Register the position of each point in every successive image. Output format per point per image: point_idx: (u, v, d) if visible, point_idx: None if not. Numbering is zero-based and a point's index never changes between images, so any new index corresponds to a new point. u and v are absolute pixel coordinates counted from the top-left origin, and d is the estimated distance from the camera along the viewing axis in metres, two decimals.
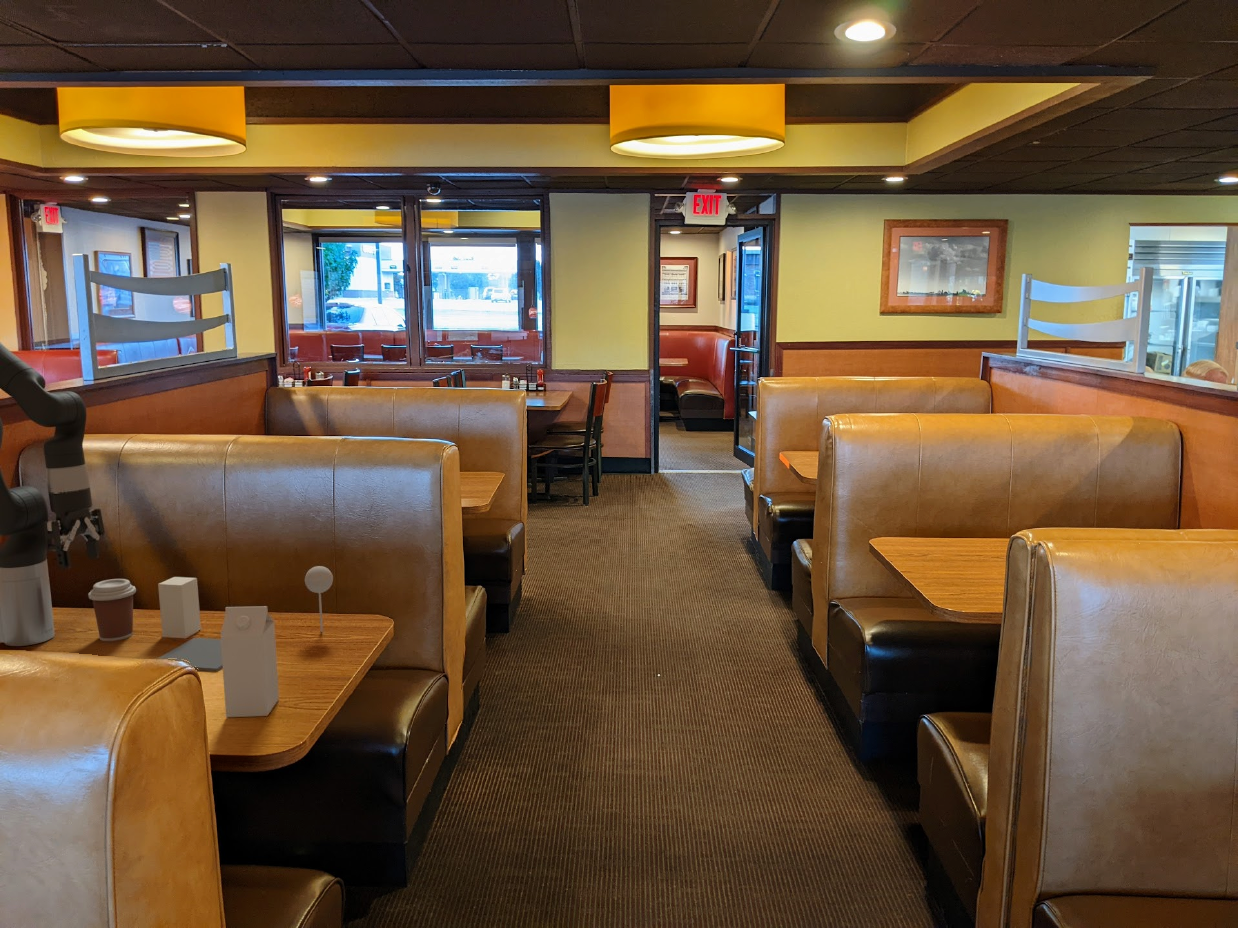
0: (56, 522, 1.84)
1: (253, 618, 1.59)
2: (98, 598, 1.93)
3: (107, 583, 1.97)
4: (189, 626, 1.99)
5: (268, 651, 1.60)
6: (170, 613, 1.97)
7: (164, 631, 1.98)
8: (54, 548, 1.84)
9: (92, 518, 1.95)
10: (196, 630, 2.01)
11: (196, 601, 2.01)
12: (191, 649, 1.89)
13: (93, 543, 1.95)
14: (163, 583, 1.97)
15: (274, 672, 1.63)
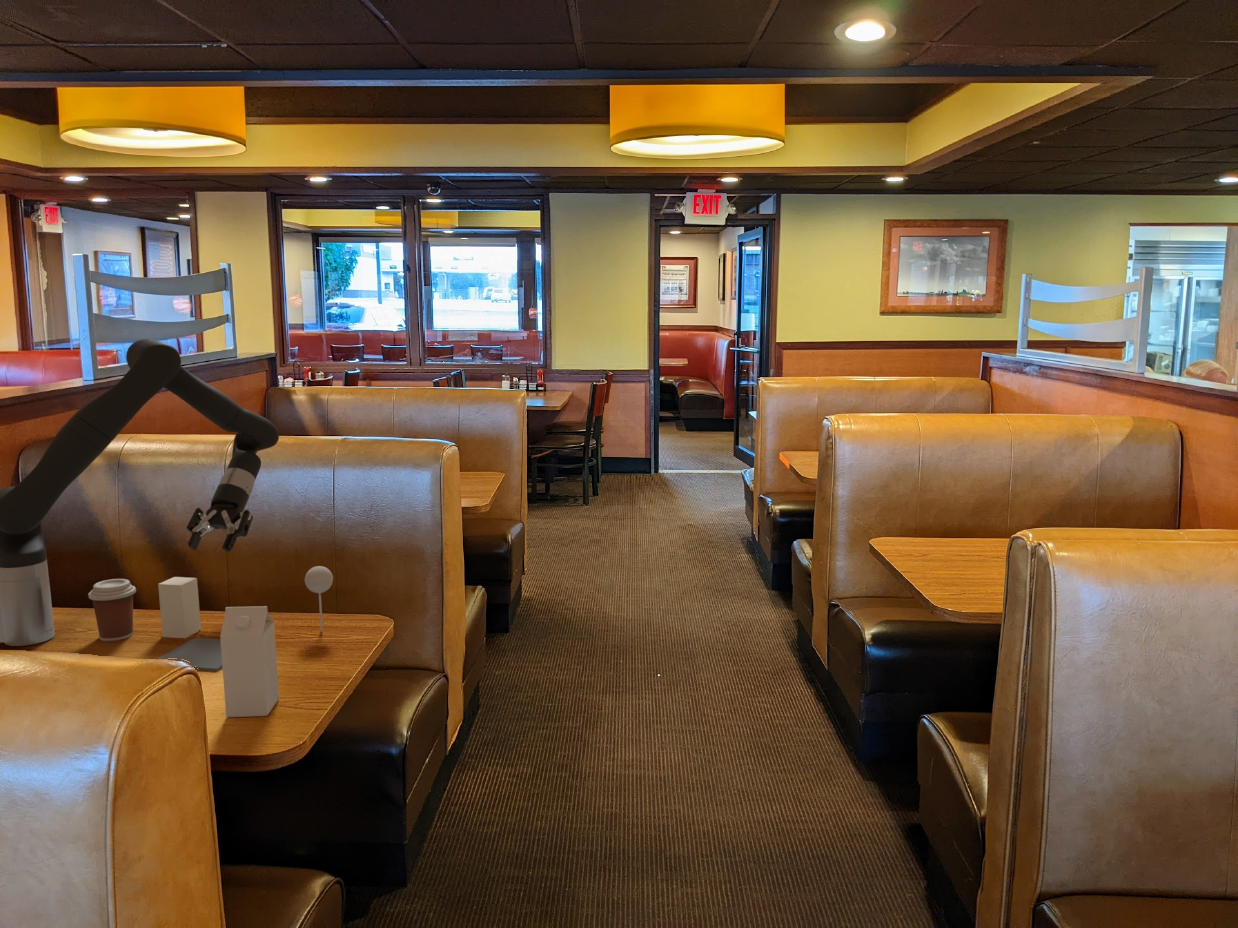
0: None
1: (253, 618, 1.59)
2: (98, 598, 1.93)
3: (107, 583, 1.97)
4: (189, 626, 1.99)
5: (268, 651, 1.60)
6: (170, 613, 1.97)
7: (164, 631, 1.98)
8: (245, 533, 2.11)
9: (203, 518, 2.15)
10: (196, 630, 2.01)
11: (196, 601, 2.01)
12: (191, 649, 1.89)
13: (200, 537, 2.12)
14: (163, 583, 1.97)
15: (274, 672, 1.63)
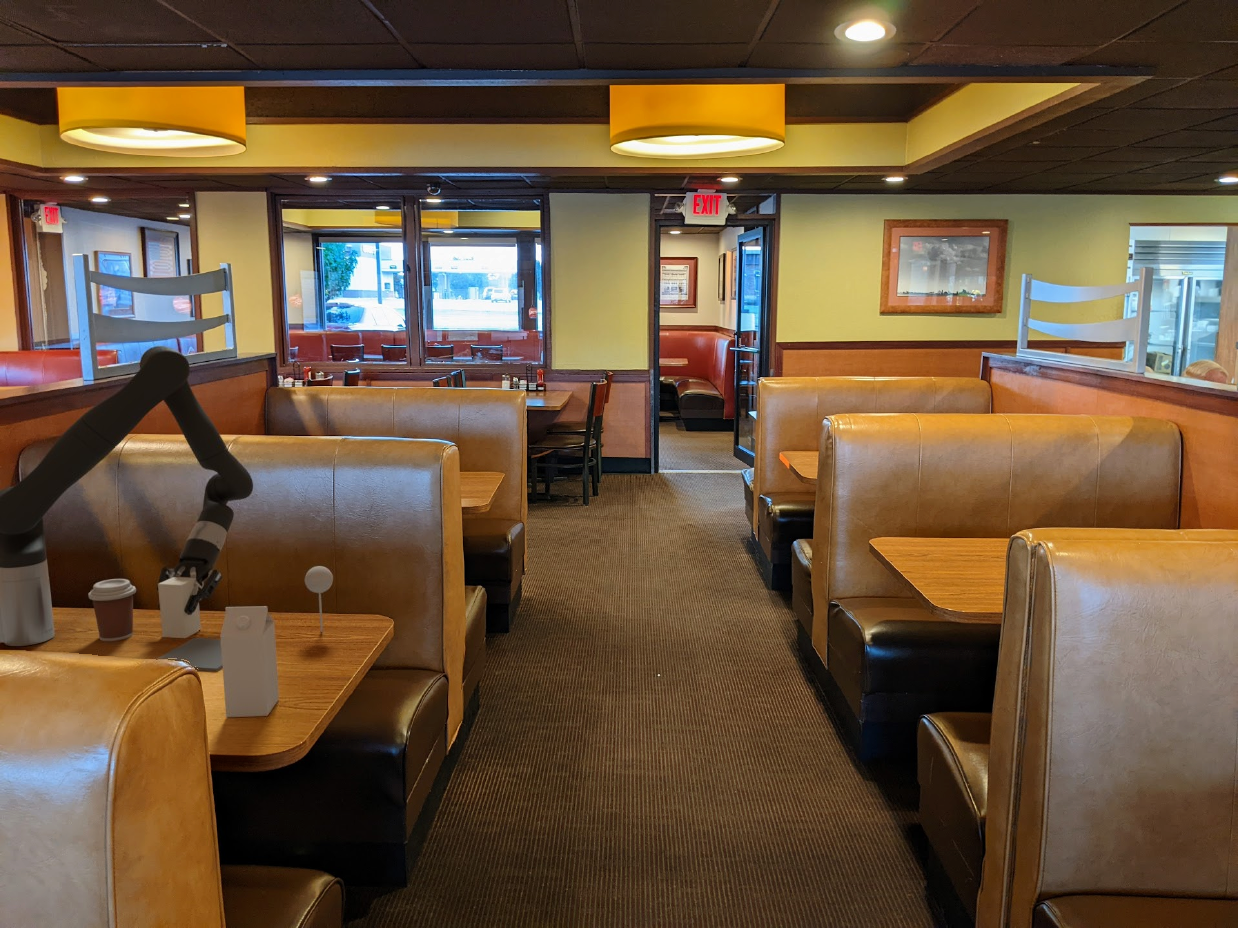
0: None
1: (253, 618, 1.59)
2: (98, 598, 1.93)
3: (107, 583, 1.97)
4: (189, 626, 1.99)
5: (268, 651, 1.60)
6: (170, 613, 1.97)
7: (164, 631, 1.98)
8: (208, 594, 2.00)
9: (172, 576, 2.04)
10: (196, 630, 2.01)
11: None
12: (191, 649, 1.89)
13: None
14: (163, 583, 1.97)
15: (274, 672, 1.63)
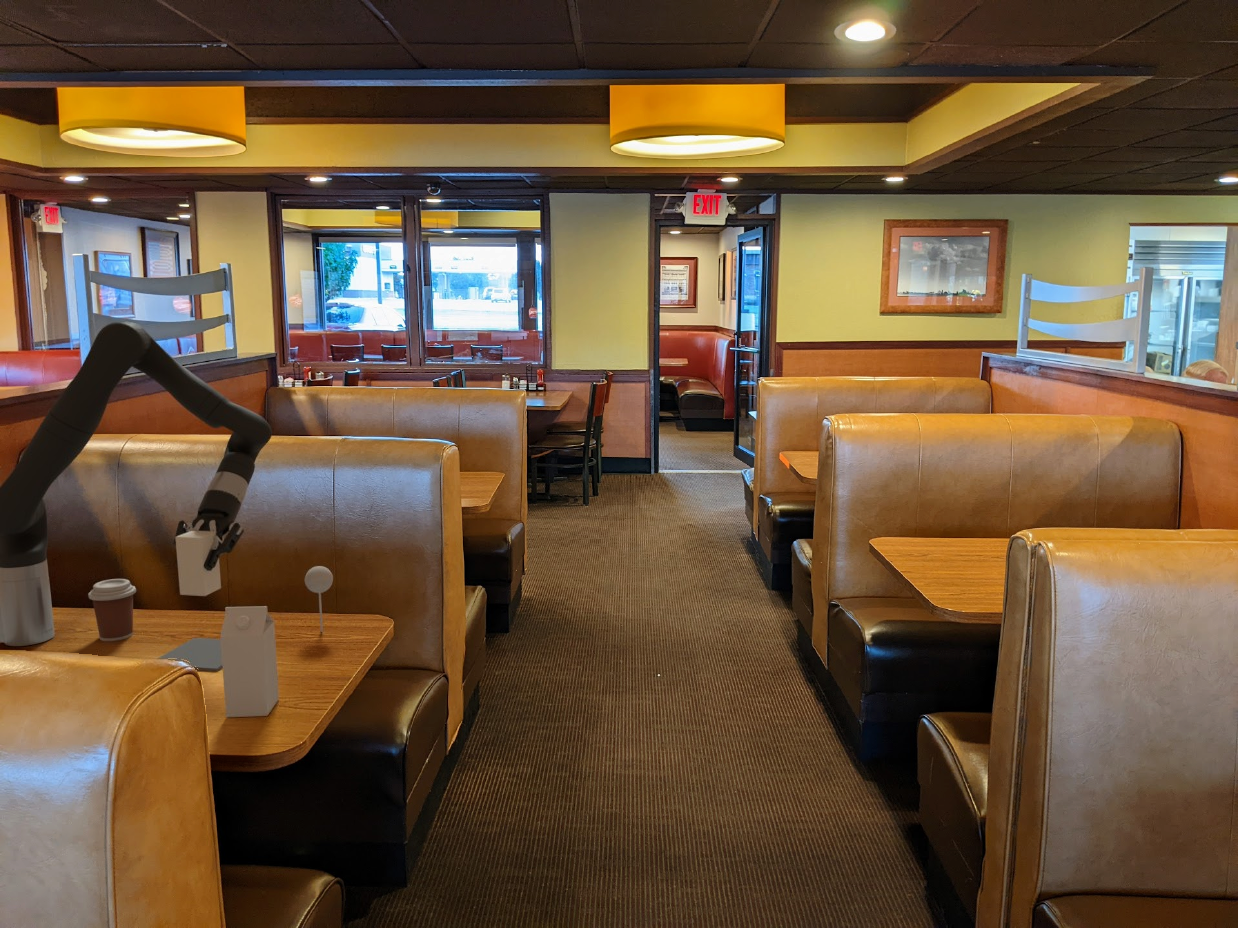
0: None
1: (253, 618, 1.59)
2: (98, 598, 1.93)
3: (107, 583, 1.97)
4: (209, 583, 1.84)
5: (268, 651, 1.60)
6: (189, 569, 1.82)
7: (182, 588, 1.83)
8: (229, 549, 1.85)
9: (189, 530, 1.89)
10: (216, 588, 1.86)
11: None
12: (191, 649, 1.89)
13: None
14: (181, 536, 1.82)
15: (274, 672, 1.63)
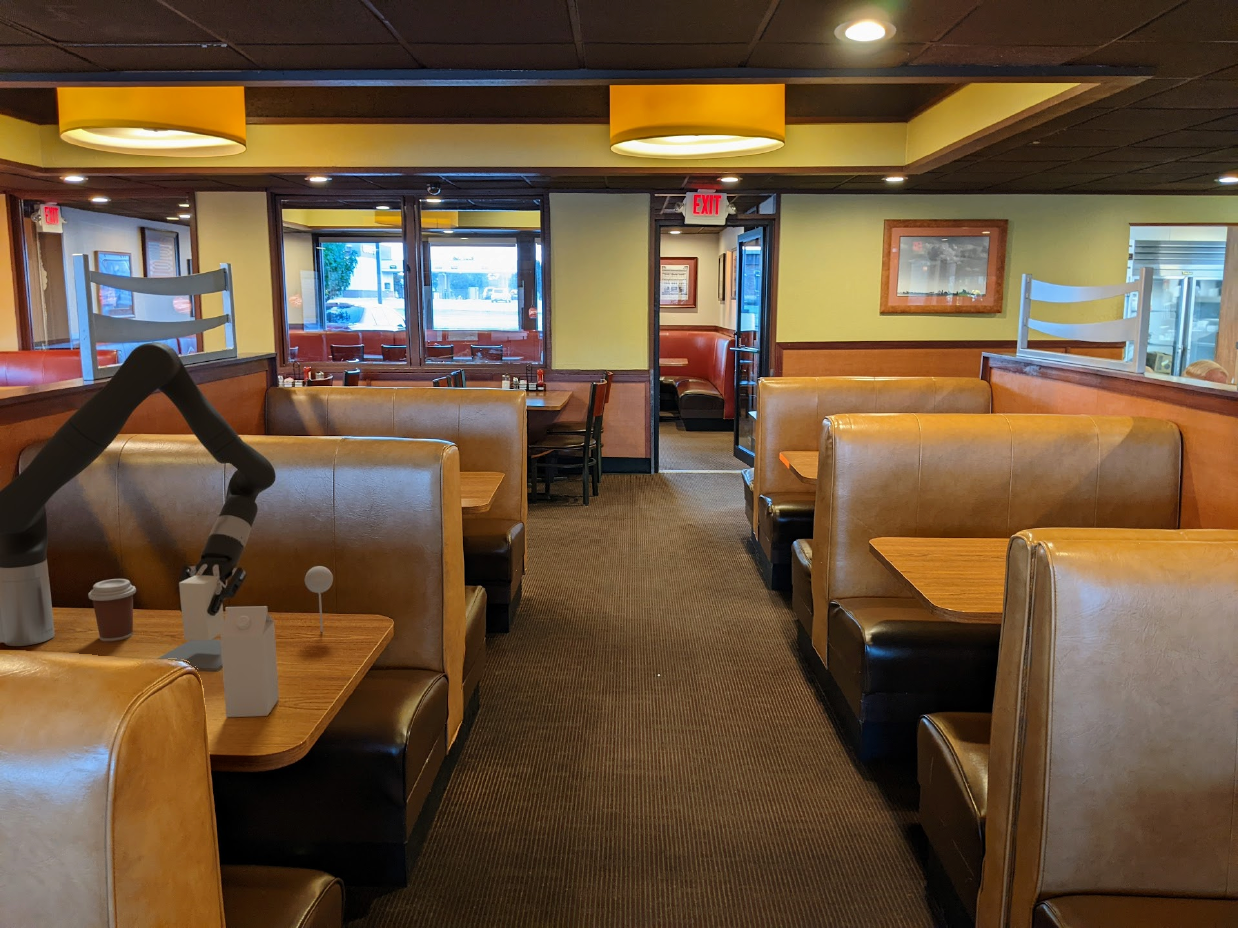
0: None
1: (253, 618, 1.59)
2: (98, 598, 1.93)
3: (107, 583, 1.97)
4: (212, 628, 1.85)
5: (268, 651, 1.60)
6: (192, 614, 1.83)
7: (186, 633, 1.84)
8: (233, 594, 1.87)
9: None
10: (220, 632, 1.88)
11: None
12: (191, 649, 1.89)
13: None
14: (184, 582, 1.83)
15: (274, 672, 1.63)
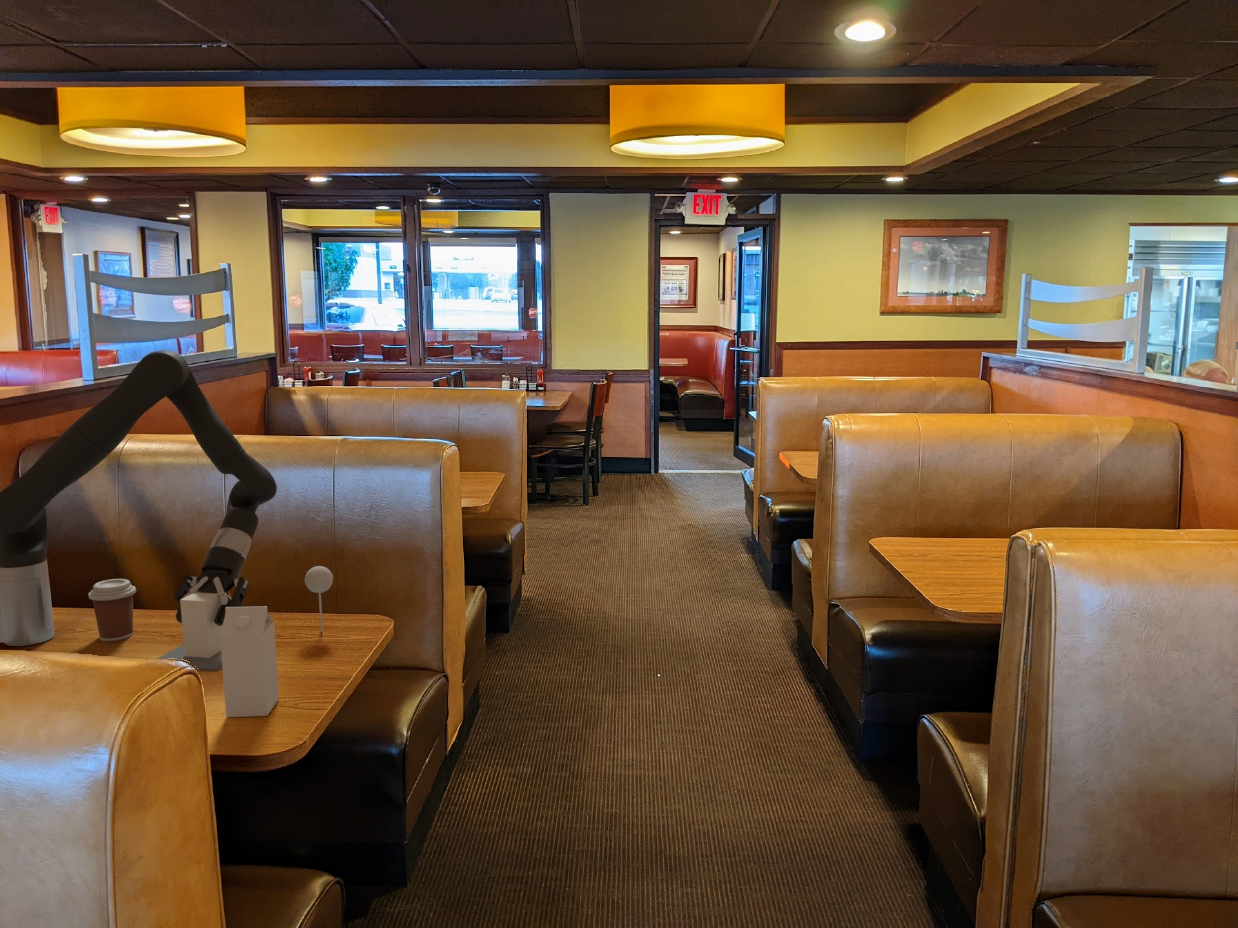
0: None
1: (253, 618, 1.59)
2: (98, 598, 1.93)
3: (107, 583, 1.97)
4: (213, 645, 1.86)
5: (268, 651, 1.60)
6: (193, 631, 1.84)
7: (186, 650, 1.85)
8: (240, 604, 1.87)
9: (193, 585, 1.91)
10: (220, 649, 1.88)
11: None
12: None
13: None
14: (185, 599, 1.84)
15: (274, 672, 1.63)
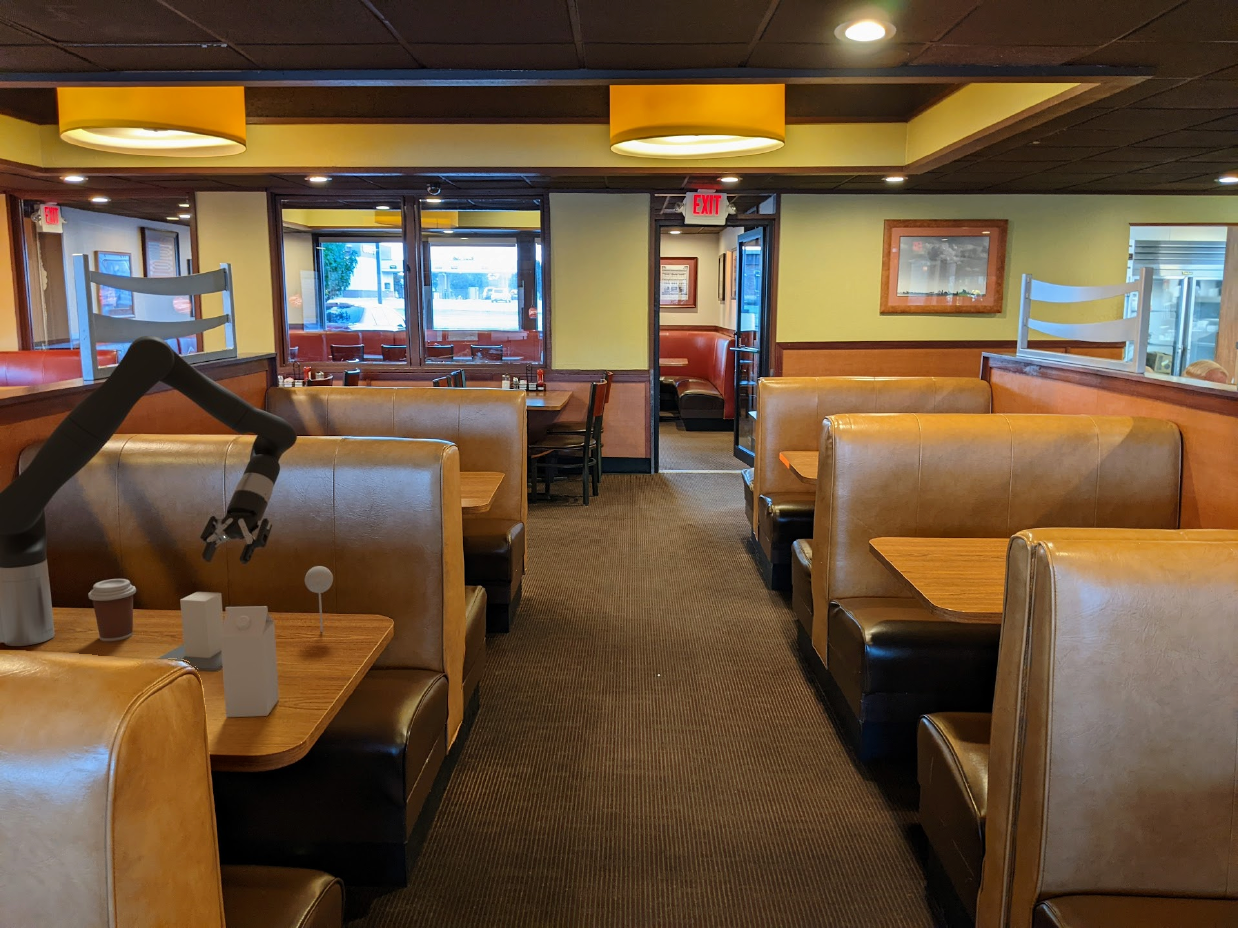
0: None
1: (253, 618, 1.59)
2: (98, 598, 1.93)
3: (107, 583, 1.97)
4: (213, 645, 1.86)
5: (268, 651, 1.60)
6: (193, 631, 1.84)
7: (186, 650, 1.85)
8: (264, 544, 1.95)
9: (218, 527, 1.99)
10: (220, 649, 1.88)
11: (220, 618, 1.88)
12: None
13: (214, 548, 1.96)
14: (185, 599, 1.84)
15: (274, 672, 1.63)
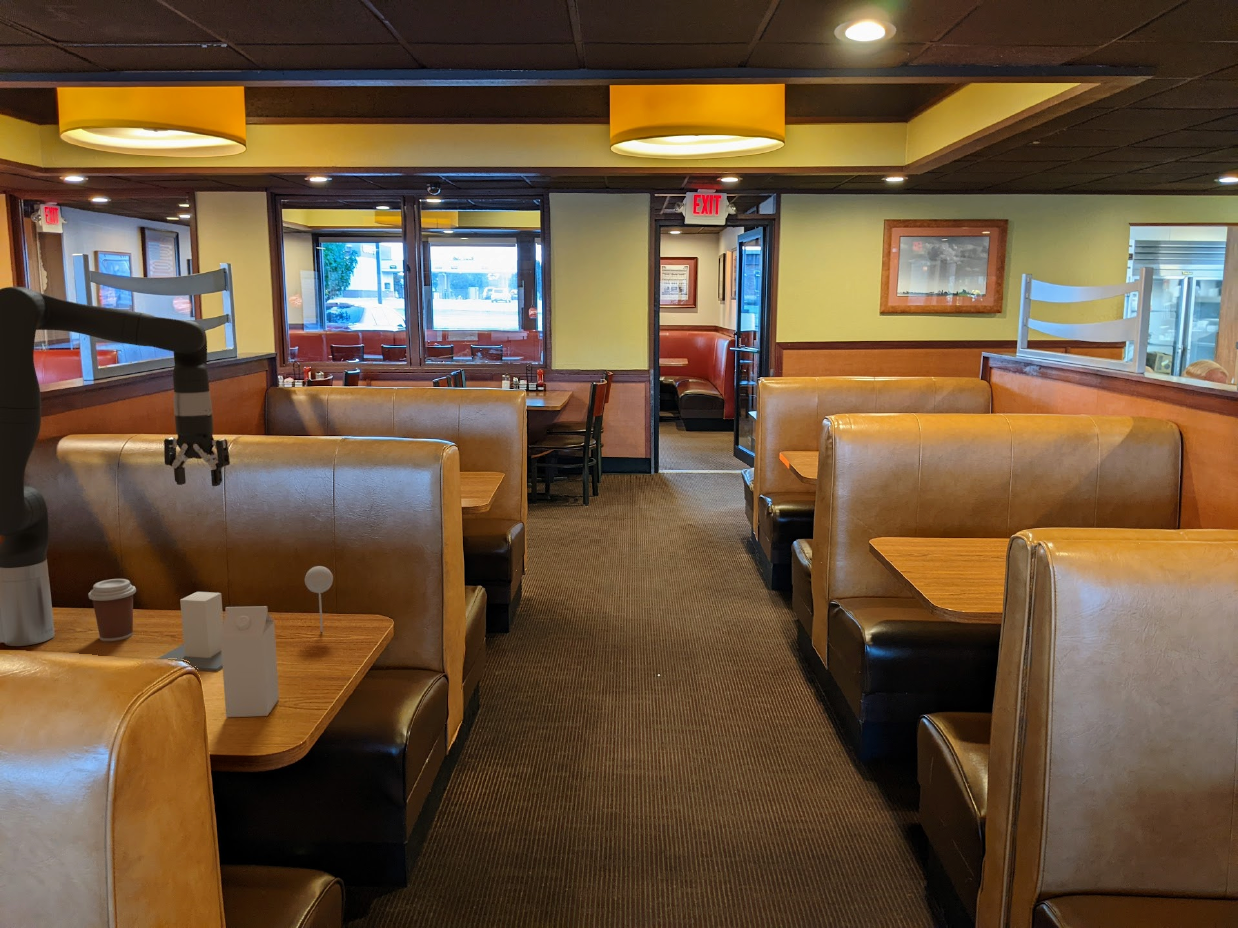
0: None
1: (253, 618, 1.59)
2: (98, 598, 1.93)
3: (107, 583, 1.97)
4: (213, 645, 1.86)
5: (268, 651, 1.60)
6: (193, 631, 1.84)
7: (186, 650, 1.85)
8: (227, 463, 2.00)
9: None
10: (220, 649, 1.88)
11: (220, 618, 1.88)
12: None
13: (183, 469, 2.02)
14: (185, 599, 1.84)
15: (274, 672, 1.63)
